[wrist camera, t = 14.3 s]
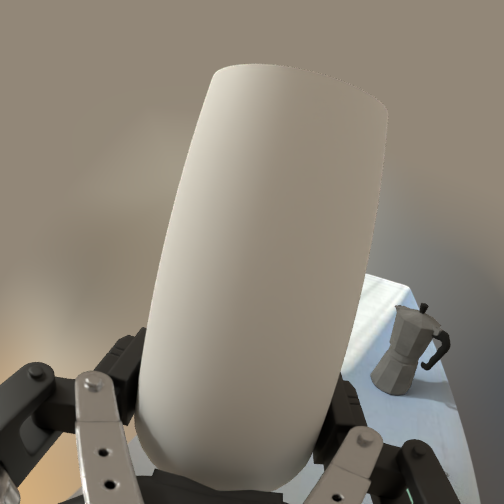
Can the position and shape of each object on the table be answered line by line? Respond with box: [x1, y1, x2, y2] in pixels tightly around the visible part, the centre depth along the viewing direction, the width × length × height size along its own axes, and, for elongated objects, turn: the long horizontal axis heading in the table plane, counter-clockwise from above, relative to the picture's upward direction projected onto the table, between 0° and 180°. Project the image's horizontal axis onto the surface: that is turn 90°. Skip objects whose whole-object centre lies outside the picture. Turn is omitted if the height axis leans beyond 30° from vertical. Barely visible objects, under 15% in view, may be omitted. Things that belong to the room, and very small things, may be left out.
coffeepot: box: [371, 303, 450, 395], centre depth 53 cm, size 15×9×18 cm, turn 21°
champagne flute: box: [134, 64, 388, 492], centre depth 11 cm, size 7×7×24 cm
